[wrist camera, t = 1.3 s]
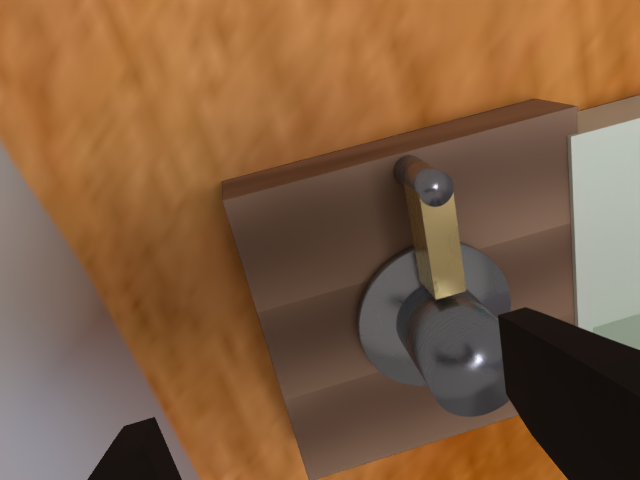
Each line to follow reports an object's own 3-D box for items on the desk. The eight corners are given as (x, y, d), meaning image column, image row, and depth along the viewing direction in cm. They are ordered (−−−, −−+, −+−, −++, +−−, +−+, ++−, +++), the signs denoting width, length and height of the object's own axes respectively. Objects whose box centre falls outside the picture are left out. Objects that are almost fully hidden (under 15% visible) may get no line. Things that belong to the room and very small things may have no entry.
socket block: (552, 360, 24) (587, 393, 22) (300, 438, 23) (309, 481, 21) (535, 98, 20) (577, 106, 17) (222, 181, 19) (222, 201, 16)
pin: (479, 320, 23) (571, 420, 17) (355, 357, 22) (404, 473, 16) (464, 200, 21) (564, 265, 15) (327, 238, 20) (372, 321, 14)
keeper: (438, 262, 18) (467, 292, 16) (410, 270, 18) (437, 301, 16) (421, 151, 17) (451, 168, 15) (391, 159, 17) (417, 177, 15)
